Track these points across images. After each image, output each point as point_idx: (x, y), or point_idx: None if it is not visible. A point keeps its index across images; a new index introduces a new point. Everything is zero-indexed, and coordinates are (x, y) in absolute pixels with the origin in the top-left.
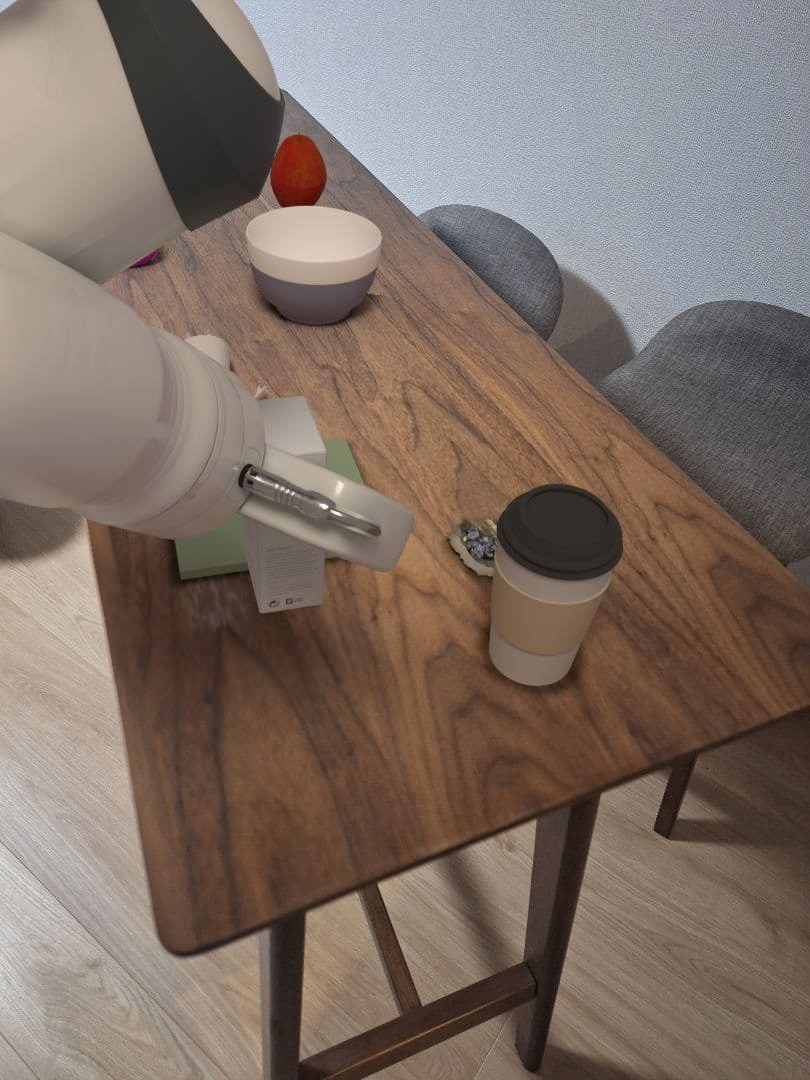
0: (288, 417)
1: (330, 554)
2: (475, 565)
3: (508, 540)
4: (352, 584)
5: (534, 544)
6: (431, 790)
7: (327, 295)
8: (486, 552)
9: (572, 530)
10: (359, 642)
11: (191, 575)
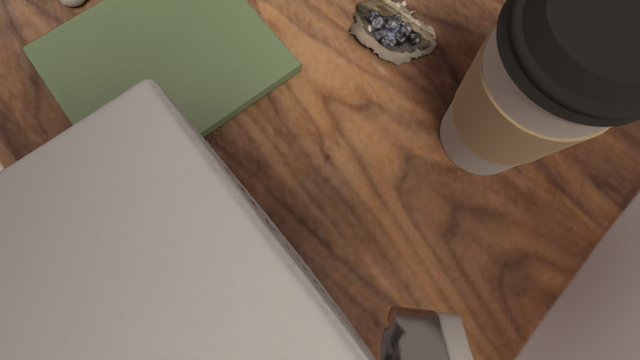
0: (139, 300)
1: (252, 100)
2: (390, 55)
3: (546, 90)
4: (288, 126)
5: (597, 90)
6: None
7: None
8: (398, 38)
9: (636, 42)
10: (326, 192)
11: None
